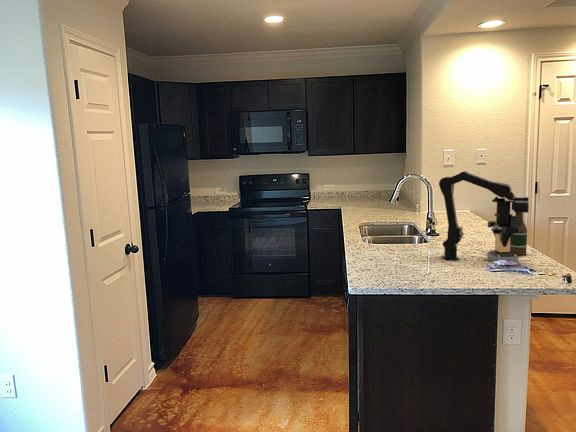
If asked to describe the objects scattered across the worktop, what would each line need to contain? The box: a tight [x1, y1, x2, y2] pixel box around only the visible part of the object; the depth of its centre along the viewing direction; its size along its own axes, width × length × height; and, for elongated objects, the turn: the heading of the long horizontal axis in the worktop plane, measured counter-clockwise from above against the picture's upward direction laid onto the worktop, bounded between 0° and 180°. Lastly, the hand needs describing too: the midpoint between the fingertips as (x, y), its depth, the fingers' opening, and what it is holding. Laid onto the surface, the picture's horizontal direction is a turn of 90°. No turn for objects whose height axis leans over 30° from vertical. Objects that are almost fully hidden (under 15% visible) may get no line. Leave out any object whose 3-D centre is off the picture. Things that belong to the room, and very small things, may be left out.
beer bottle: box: [510, 212, 528, 257], centre depth 229 cm, size 8×8×24 cm
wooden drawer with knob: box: [494, 233, 510, 252], centre depth 215 cm, size 5×5×9 cm
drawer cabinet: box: [486, 249, 519, 264], centre depth 216 cm, size 11×9×5 cm
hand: (502, 245), depth 216 cm, fingers closed on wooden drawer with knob, 5 cm apart
